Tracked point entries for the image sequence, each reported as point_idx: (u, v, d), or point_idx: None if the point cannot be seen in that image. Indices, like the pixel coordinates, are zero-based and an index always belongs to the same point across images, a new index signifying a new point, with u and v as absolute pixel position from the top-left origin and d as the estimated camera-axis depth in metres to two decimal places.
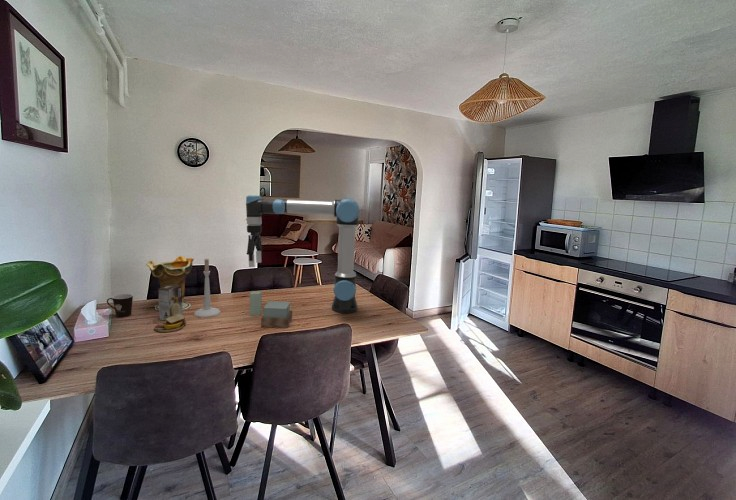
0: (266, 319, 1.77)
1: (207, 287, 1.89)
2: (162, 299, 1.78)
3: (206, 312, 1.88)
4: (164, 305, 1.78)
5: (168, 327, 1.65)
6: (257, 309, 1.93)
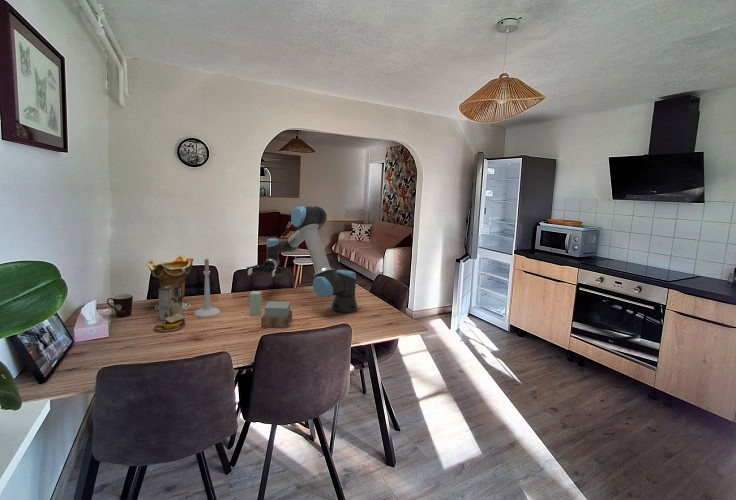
0: (266, 319, 1.77)
1: (207, 287, 1.89)
2: (162, 299, 1.78)
3: (206, 312, 1.88)
4: (164, 305, 1.78)
5: (168, 327, 1.66)
6: (257, 309, 1.93)
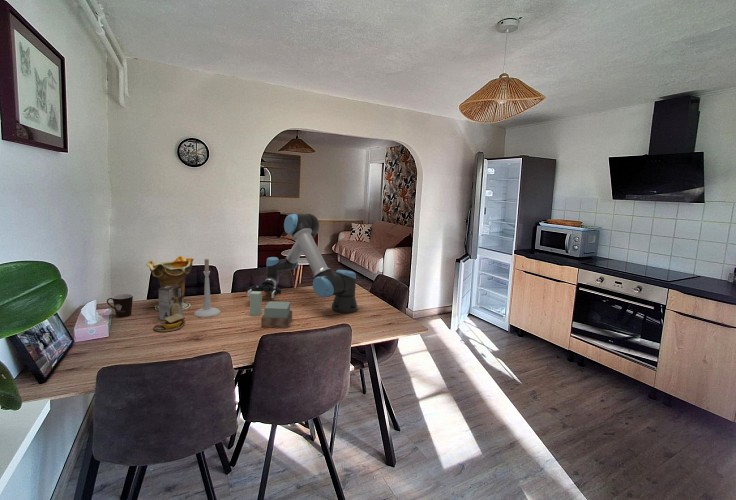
0: (266, 319, 1.77)
1: (207, 287, 1.89)
2: (162, 299, 1.78)
3: (206, 312, 1.88)
4: (164, 305, 1.78)
5: (168, 327, 1.66)
6: (257, 309, 1.93)
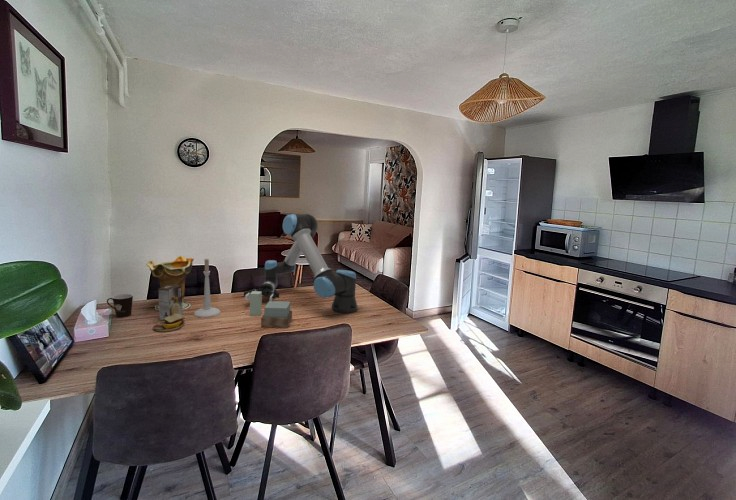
0: (266, 319, 1.77)
1: (207, 287, 1.89)
2: (162, 299, 1.78)
3: (206, 312, 1.88)
4: (164, 305, 1.78)
5: (167, 326, 1.66)
6: (257, 309, 1.93)
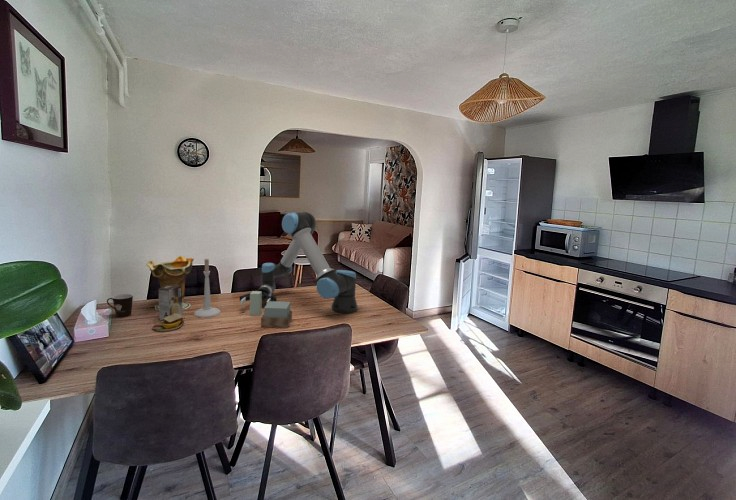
0: (266, 319, 1.77)
1: (207, 287, 1.89)
2: (162, 299, 1.78)
3: (206, 312, 1.88)
4: (165, 305, 1.78)
5: (167, 326, 1.66)
6: (257, 309, 1.93)
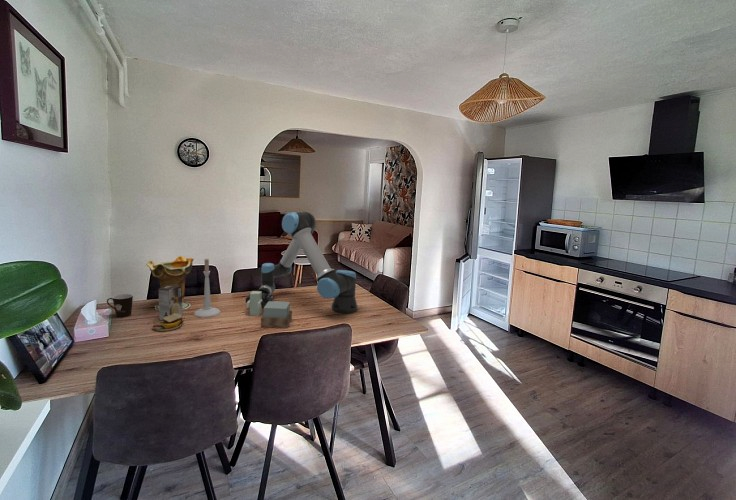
0: (266, 319, 1.77)
1: (207, 287, 1.89)
2: (162, 299, 1.78)
3: (206, 312, 1.88)
4: (165, 305, 1.78)
5: (167, 326, 1.66)
6: (257, 309, 1.93)
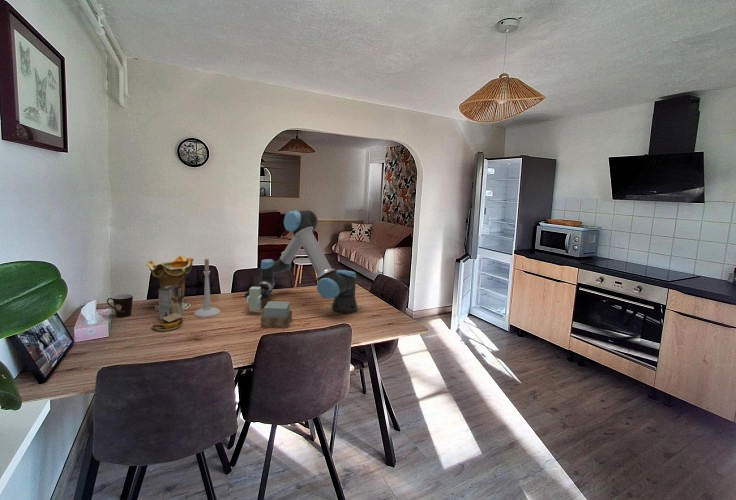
0: (266, 319, 1.77)
1: (207, 287, 1.89)
2: (162, 299, 1.78)
3: (206, 312, 1.88)
4: (164, 305, 1.78)
5: (167, 326, 1.67)
6: (257, 304, 1.92)
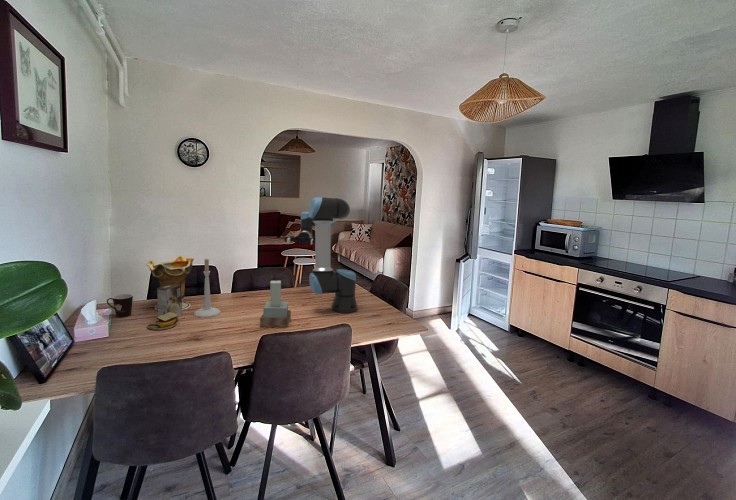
0: (265, 319, 1.78)
1: (207, 287, 1.89)
2: (160, 299, 1.78)
3: (206, 312, 1.88)
4: (163, 305, 1.78)
5: (163, 325, 1.68)
6: (278, 299, 1.80)
